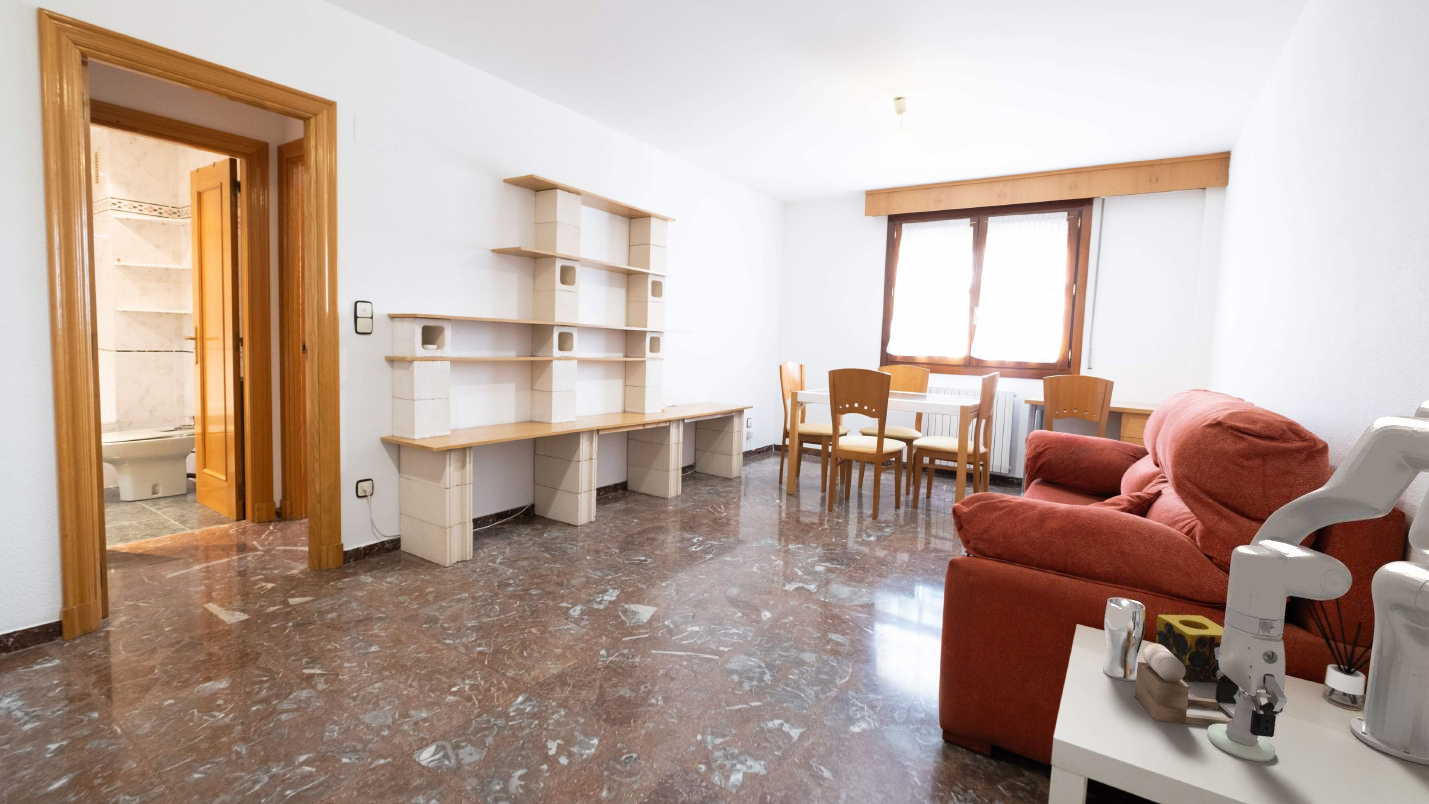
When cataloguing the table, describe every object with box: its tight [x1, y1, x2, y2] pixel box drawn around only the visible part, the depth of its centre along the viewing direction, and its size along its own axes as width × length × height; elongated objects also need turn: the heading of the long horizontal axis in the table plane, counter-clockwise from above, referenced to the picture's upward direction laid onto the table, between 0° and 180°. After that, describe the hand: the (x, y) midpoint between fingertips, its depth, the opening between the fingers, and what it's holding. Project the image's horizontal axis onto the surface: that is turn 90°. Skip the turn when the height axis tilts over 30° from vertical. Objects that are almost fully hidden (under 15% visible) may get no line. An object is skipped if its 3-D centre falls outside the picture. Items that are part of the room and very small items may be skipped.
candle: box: [1155, 614, 1224, 683], centre depth 137 cm, size 10×10×10 cm
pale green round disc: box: [1206, 724, 1276, 763], centre depth 112 cm, size 9×9×1 cm
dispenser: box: [1134, 643, 1235, 726], centre depth 121 cm, size 15×8×11 cm, turn 80°
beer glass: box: [1102, 596, 1146, 682], centre depth 135 cm, size 7×7×15 cm
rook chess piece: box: [1225, 690, 1258, 746], centre depth 112 cm, size 4×4×8 cm
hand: (1242, 718), depth 112 cm, fingers open, 9 cm apart
